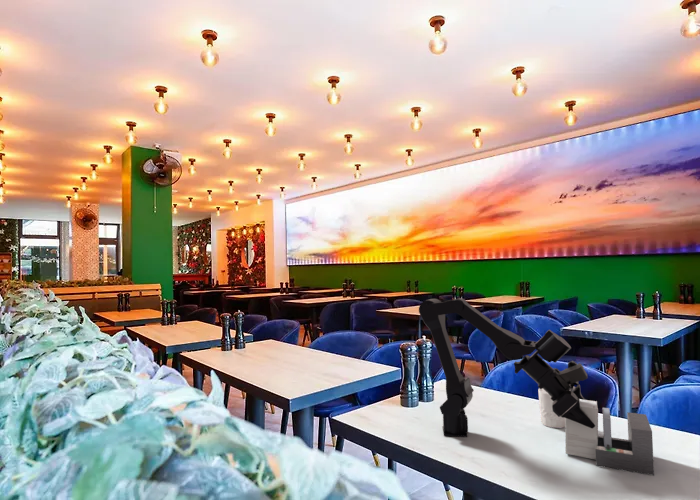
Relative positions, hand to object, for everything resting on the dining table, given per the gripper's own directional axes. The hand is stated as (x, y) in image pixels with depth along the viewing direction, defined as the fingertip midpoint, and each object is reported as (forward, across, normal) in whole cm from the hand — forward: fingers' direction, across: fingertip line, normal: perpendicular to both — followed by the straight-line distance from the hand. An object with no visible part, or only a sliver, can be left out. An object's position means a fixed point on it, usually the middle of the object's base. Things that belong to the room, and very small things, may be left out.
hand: (593, 420), depth 111 cm
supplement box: (+4, 0, +8) cm, 9 cm away
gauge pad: (+7, -1, +4) cm, 8 cm away
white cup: (-2, +19, +14) cm, 23 cm away
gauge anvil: (+10, 0, +2) cm, 10 cm away
